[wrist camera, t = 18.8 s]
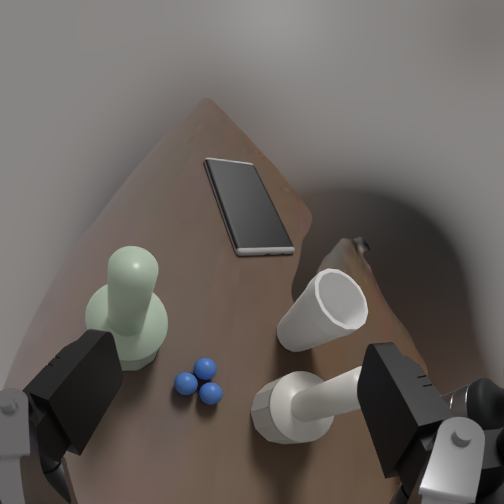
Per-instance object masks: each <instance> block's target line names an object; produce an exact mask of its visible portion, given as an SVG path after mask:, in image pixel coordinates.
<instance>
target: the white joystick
mask: <svg viewBox="0 0 504 504" xmlns="http://www.w3.org/2000/svg"><path fill="white" fill-rule="evenodd" d="M361 368H362V366H360V367H357V368H355V369H353V370H351V371H348V372H346V373H344V374H342V375H339V376H337V377H335V378H332V379H330V380H328V381H325V382H324V381H323V380H322V379H321V378H319V377H318V376H316V375H315V374H312V373H310V372H305V371H297V372H292V373H290V374H288V375H286V376H283V377H281V378H279V379H277V380H275V381H272V382H270V383H268V384H266V385H265V386H264V387H263V388H262V389H261V390H260V391H259V392H258V393H257V394H256V395H255V396H254V399H253V404H252V408H251V411H250V413H251V416H252V420H253V423H254V427H255V429H256V430H257V431H258V432H259V433H260V434H261V435H262V436H263V437H264V438H265V439H266V440H267V441H270V442H275V443H279V444H294V443H304V442H311V441H314V440H317V439H319V438H320V437H322V436H323V435H324V434H325V433H326V432H327V431H328V430H329V428H330V426H331V424H332V422H333V419H334V416H335V415H339V414H343V413H347V412H350V411H354V410H357V409H361V407H360V404H359V402H358V398H357V383H358V379H359V375H360V372H361Z"/></svg>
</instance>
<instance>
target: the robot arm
mask: <svg viewBox="0 0 504 504" xmlns="http://www.w3.org/2000/svg"><path fill="white" fill-rule="evenodd" d="M122 376H123V375H122V368H121V364H120V360H119V356H118V352H117V348H116V344H115V340H114V337H113V335H112V333H111V332H107V331H101V330H95V329H88V330H87V331H86V332H85V333H84V334H83V335H82V336H81V337H80V338H79V339H78V340H77V341H75V342H73V343H71V344H69V345H67V346H65V347H64V348H63V349H62V350H61V351H60V352H59V353H58V354H57V355H56V356H55V358H53V359H52V360H51V361H50V362H49V363H48V365H46V366H45V367H44V368H43V369H42V370H41V371H40V372H39V373H38V374H37V376H36V377H35V378H34V379H33V380H32V381H31V382H30V383H29V384H28V385H27V386H26V387H25V388H24V390H23V391H21V390H19V389H13V388H12V389H5V390H2V391H0V504H78V503H77V500H76V497H75V493H74V490H73V486H72V483H71V479H70V475H69V471H68V467H67V463H66V460H65V458H64V454H65V452H66V451H69V452H72V453H74V454H77V455H79V456H80V455H81V454H82V452H83V450H84V448H85V446H86V445H87V443H88V441H89V439H90V438H91V436H92V434H93V432H94V431H95V429H96V427H97V425H98V424H99V422H100V420H101V418H102V417H103V415H104V413H105V412H106V410H107V408H108V407H109V405H110V403H111V401H112V400H113V398H114V396H115V395H116V393H117V391H118V390H119V388H120V386H121V383H122ZM357 398H358V402H359V404H360V407H361V410H362V412H363V415H364V418H365V421H366V424H367V426H368V429H369V432H370V435H371V438H372V441H373V443H374V446H375V449H376V452H377V455H378V458H379V461H380V464H381V467H382V470H383V473H384V476H385V479H386V478H390V477H394V476H398V475H399V476H400V479H401V483H400V484H399V486H398V487H397V489H396V492H395V494H394V496H393V498H392V500H391V502H390V504H504V389H503V388H500V387H498V386H497V385H496V384H494V383H493V382H492V381H491V380H490V379H488V378H482V379H479V380H477V381H475V382H473V383H471V384H469V385H467V386H464V387H462V388H460V389H458V390H456V391H453V392H451V393H448V394H446V395H444V396H441V395H440V394H439V393H438V391H437V390H436V388H435V387H434V386H432V382H431V381H430V379H429V378H428V377H426V374H425V372H424V371H423V370H422V368H421V367H420V365H419V364H417V363H416V362H415V361H413V360H412V359H410V358H409V357H408V356H403V355H402V354H401V353H400V351H399V350H398V348H397V347H396V345H395V344H394V343H393V342H388V343H375V344H369V345H368V347H367V349H366V353H365V357H364V361H363V364H362V368H361V372H360V375H359V379H358V383H357ZM501 428H503V429H501Z"/></svg>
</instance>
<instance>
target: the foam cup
mask: <svg viewBox="0 0 504 504" xmlns="http://www.w3.org/2000/svg"><path fill="white" fill-rule="evenodd" d="M367 314H368V309H367V302H366V299H365V297H364V295H363V293H362V291H361V289H360V287H359V286H358V285H357V284H356V282H355V281H354V280H353V279H352V278H351V277H350V276H348V275H346V274H345V273H343V272H342V271H340V270H335V269H329V268H328V269H326V270H324V271H321V272H319V273H318V274H317V275H316V276H315V277H314V278H313V279H312V280H311V281H310V282H309V284H308V286H307V288H306V289H305V291H304V292H303V294H301V296H300V297H299V298H298V300H297V301H296V302H295V303H294V305H293V306H292V307H291V308H290V310H289V311H288V312H287V313H286V314H285V316H284V317H283V318H282V320H281V321H280V322H279V324H278V326H277V336H278V339H279V342H280V343H281V344H282V345H283V346H284V347H285V349H287V350H290V351H292V352H301V351H304V350H307V349H310V348H312V347H315V346H318V345H321V344H323V343H326V342H329V341H331V340H334V339H336V338H339V337H341V336H347V335H349V334H350V333H352V332H354V331H355V330H357V329H358V328H359V327H361V326H362V325H363V324H364V323H365V322H366V318H367Z"/></svg>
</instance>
